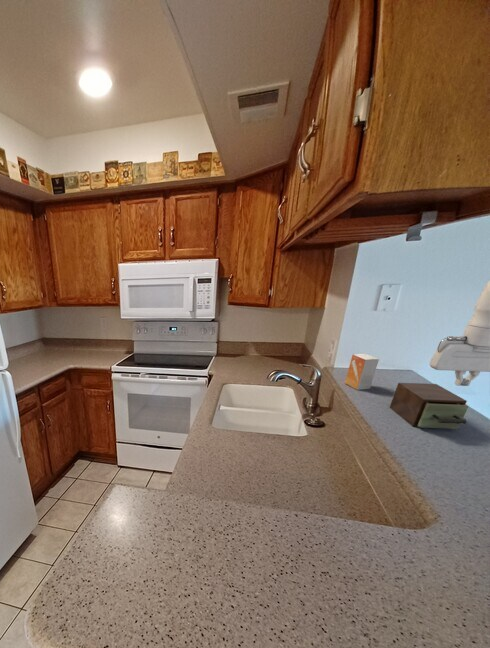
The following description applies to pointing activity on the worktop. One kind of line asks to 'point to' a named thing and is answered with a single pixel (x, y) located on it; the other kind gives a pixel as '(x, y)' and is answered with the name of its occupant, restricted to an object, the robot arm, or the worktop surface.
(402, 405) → the cabinet
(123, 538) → the worktop surface
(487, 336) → the robot arm
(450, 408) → the drawer
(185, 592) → the worktop surface
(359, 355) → the small box
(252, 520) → the worktop surface
